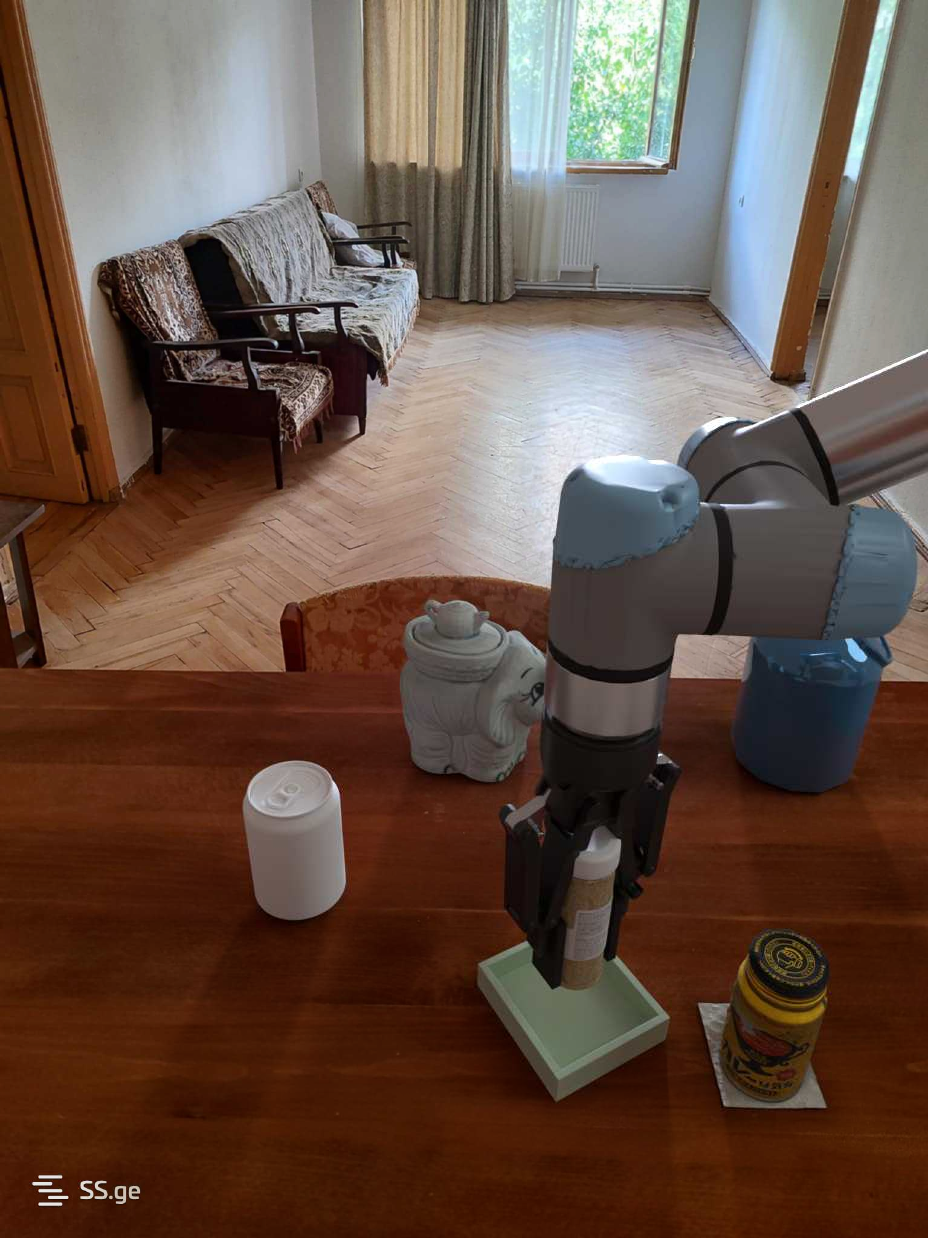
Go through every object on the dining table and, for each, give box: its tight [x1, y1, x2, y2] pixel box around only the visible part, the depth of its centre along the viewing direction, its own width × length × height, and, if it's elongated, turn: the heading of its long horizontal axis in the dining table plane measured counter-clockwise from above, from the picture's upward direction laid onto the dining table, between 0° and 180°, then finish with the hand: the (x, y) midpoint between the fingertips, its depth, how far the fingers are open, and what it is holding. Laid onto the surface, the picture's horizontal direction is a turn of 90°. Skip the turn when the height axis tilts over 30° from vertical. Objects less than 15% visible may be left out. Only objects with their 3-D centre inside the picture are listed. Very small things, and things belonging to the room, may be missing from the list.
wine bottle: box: [729, 501, 894, 793], centre depth 90 cm, size 14×13×30 cm
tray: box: [476, 940, 671, 1103], centre depth 69 cm, size 11×10×3 cm
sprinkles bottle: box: [560, 826, 621, 991], centre depth 64 cm, size 5×5×13 cm
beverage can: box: [242, 760, 347, 921], centre depth 77 cm, size 8×8×12 cm
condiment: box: [697, 928, 831, 1109], centre depth 64 cm, size 7×8×12 cm
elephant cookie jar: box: [399, 599, 547, 783], centre depth 92 cm, size 16×15×19 cm
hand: (573, 960), depth 66 cm, fingers closed on sprinkles bottle, 4 cm apart
